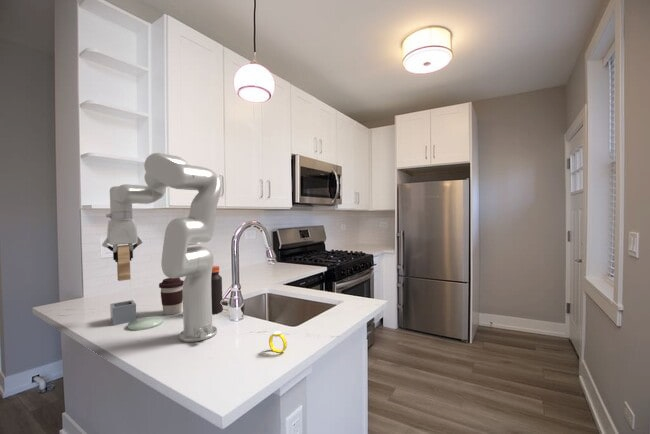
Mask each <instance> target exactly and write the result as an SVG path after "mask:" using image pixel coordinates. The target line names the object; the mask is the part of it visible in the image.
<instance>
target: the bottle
mask: <svg viewBox="0 0 650 434" xmlns="http://www.w3.org/2000/svg"><path fill="white" fill-rule="evenodd" d="M219 273H220V266H219V265H213V268H212V275H211V298H212V315H216V314H221V313H222V312H223V308H224V307H223V306H222V305H221V304H220V301H221V300H223V278H222V276H221V275H220V274H219Z"/></svg>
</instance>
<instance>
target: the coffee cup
mask: <svg viewBox="0 0 650 434" xmlns="http://www.w3.org/2000/svg"><path fill="white" fill-rule="evenodd" d="M183 283H184V279H181V277H180V278H169V277H167V278H163V280H162V282H159V283H158V287H159V288H160V299H161V300H160V301H161V305H162V313H163V314H164V315H167V316H171V315H177V314H179V313H181V312H182V311H183V294H182V293H183V291H182V289H183Z"/></svg>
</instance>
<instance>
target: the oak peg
mask: <svg viewBox="0 0 650 434" xmlns="http://www.w3.org/2000/svg"><path fill="white" fill-rule="evenodd" d="M117 252H118V262H116V269H117V270H116V272H117V273H116V274H117V281H119V282H122V281H129V280H131V279H132V278H131V261H130V251H129V245H128V244H120V245H117Z"/></svg>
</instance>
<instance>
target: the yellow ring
mask: <svg viewBox="0 0 650 434" xmlns="http://www.w3.org/2000/svg"><path fill="white" fill-rule="evenodd" d="M274 337H276V338H277V337H279V338H280V339H281V341H282V343H283V347H282V349H278V348H276V347H275V346H274V342H273V338H274ZM287 342H288V341H287V339H286V337H285V336H284V334H283V333H282V331H280V330H277V331H274V332H273V333H272V334H271V335H270V336H269V339H268V344H269V348H270V350H271V351H272V352H274V353H279V354H282V353H283V352H284V351H286V349H287V348H288V347H287V346H288V343H287Z"/></svg>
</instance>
